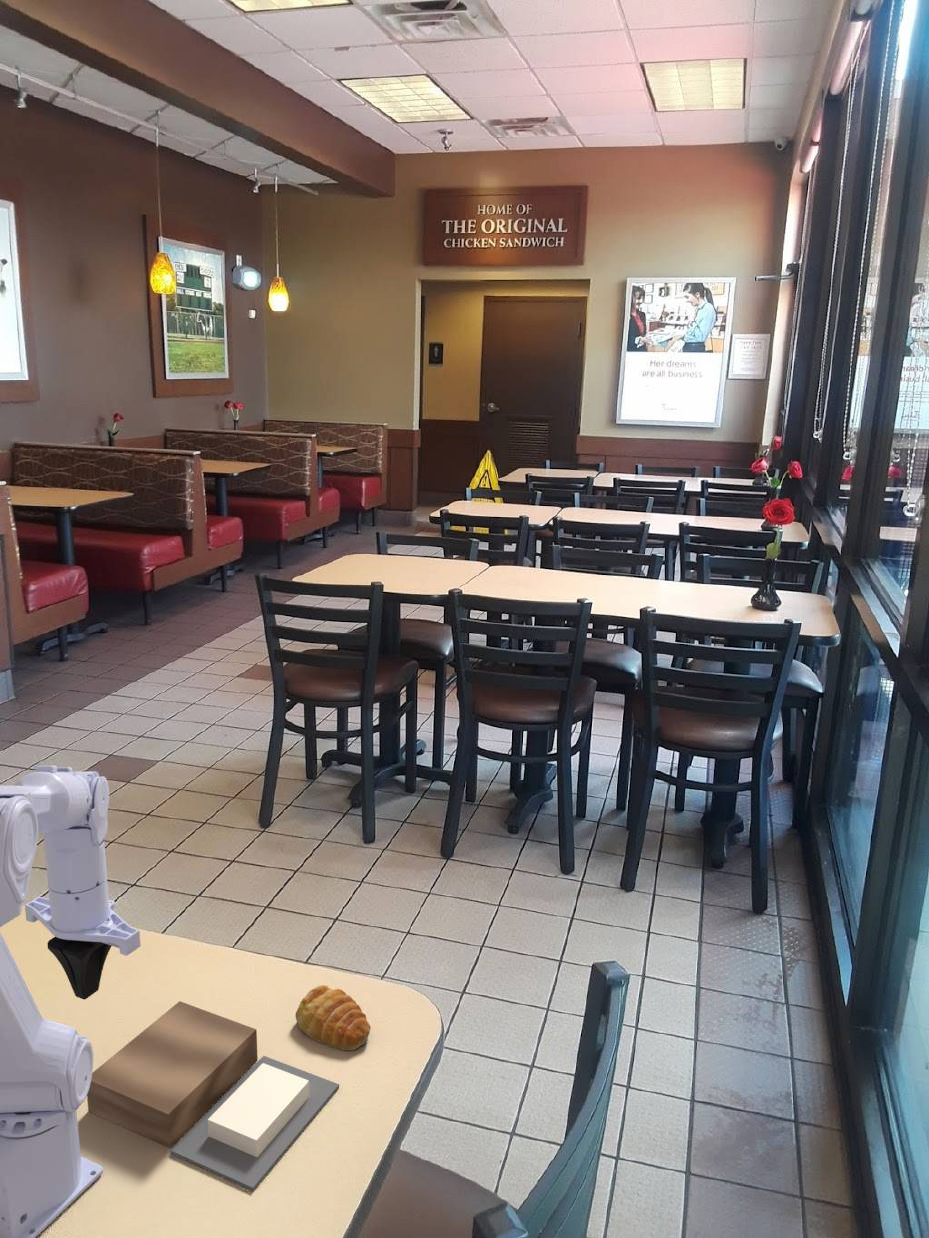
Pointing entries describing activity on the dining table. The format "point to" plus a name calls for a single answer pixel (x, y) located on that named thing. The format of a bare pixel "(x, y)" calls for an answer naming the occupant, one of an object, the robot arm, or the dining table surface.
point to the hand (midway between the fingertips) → (87, 992)
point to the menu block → (258, 1109)
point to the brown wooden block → (172, 1073)
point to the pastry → (332, 1018)
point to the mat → (254, 1169)
